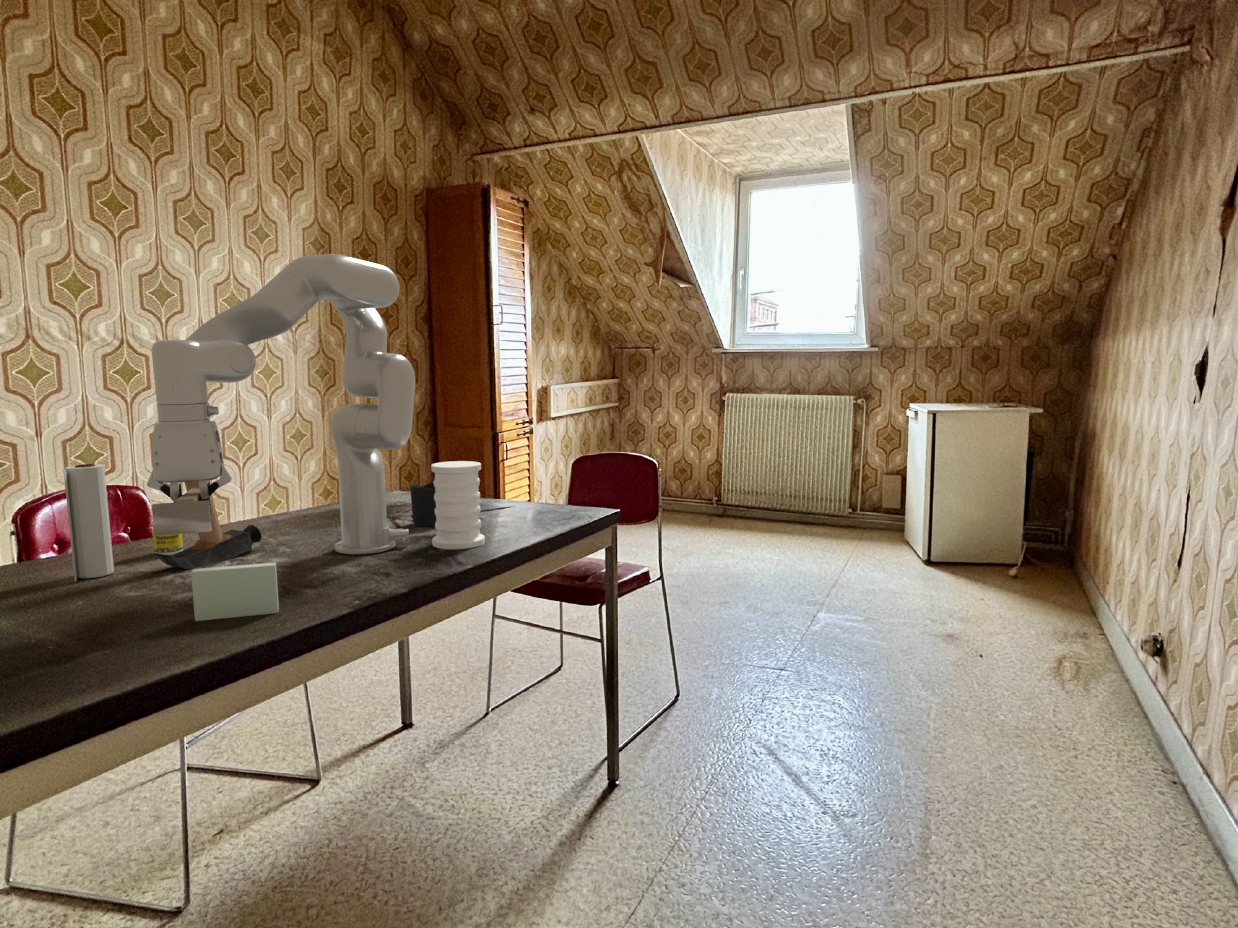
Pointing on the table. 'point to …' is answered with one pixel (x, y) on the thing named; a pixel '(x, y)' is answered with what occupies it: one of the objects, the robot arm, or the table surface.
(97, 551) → the paper towel roll
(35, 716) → the table surface
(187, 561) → the hammer
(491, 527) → the table surface
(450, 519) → the decorative container
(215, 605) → the tile
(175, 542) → the supplement bottle
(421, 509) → the pen holder
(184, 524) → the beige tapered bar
